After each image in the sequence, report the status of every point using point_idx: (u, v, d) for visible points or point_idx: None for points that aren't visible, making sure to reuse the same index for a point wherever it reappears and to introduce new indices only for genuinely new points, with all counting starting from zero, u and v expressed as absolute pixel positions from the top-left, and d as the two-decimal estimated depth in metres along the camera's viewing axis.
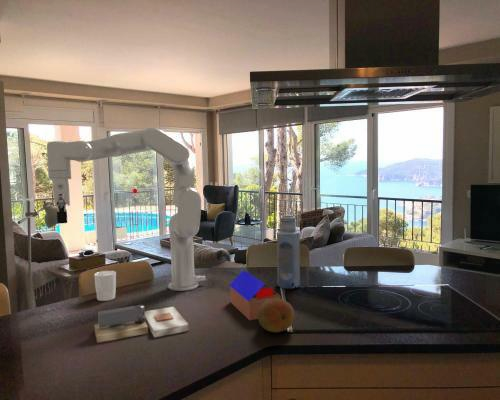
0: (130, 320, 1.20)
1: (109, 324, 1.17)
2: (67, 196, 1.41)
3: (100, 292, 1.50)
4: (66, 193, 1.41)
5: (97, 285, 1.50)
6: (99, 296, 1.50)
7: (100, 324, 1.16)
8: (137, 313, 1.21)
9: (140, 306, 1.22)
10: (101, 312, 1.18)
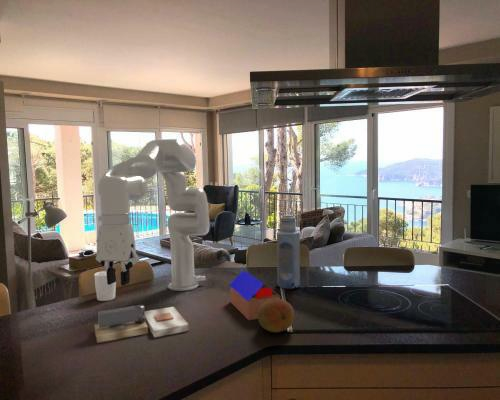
0: (130, 320, 1.20)
1: (109, 324, 1.17)
2: None
3: (100, 292, 1.50)
4: None
5: (97, 285, 1.50)
6: (99, 296, 1.50)
7: (100, 324, 1.16)
8: (137, 313, 1.21)
9: (140, 306, 1.22)
10: (101, 312, 1.18)
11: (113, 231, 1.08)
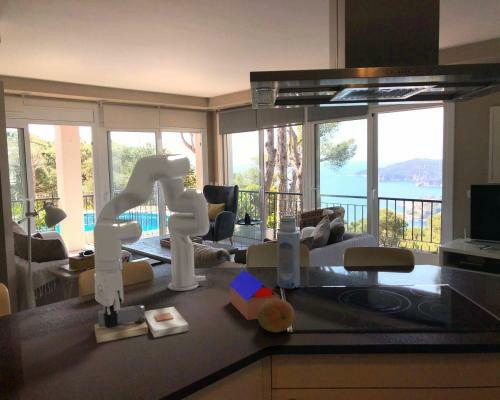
0: (130, 320, 1.20)
1: None
2: None
3: None
4: None
5: None
6: None
7: (100, 323, 1.17)
8: (137, 313, 1.21)
9: (140, 306, 1.22)
10: (101, 311, 1.18)
11: (101, 276, 1.12)
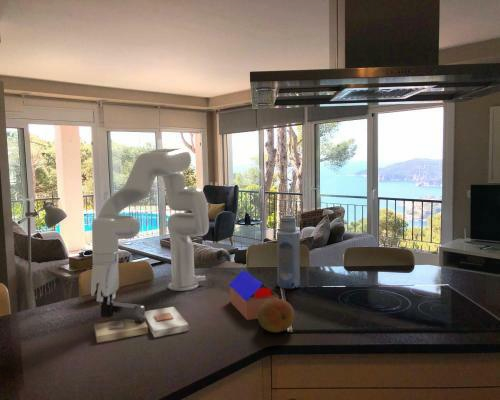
0: (128, 317, 1.22)
1: (112, 316, 1.24)
2: None
3: None
4: None
5: None
6: None
7: None
8: (134, 312, 1.21)
9: (140, 306, 1.22)
10: None
11: None
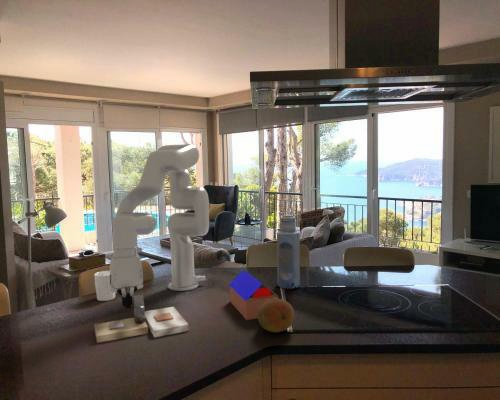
0: None
1: None
2: None
3: (100, 292, 1.50)
4: None
5: (97, 285, 1.50)
6: (99, 296, 1.50)
7: None
8: None
9: (139, 306, 1.22)
10: (139, 295, 1.33)
11: None
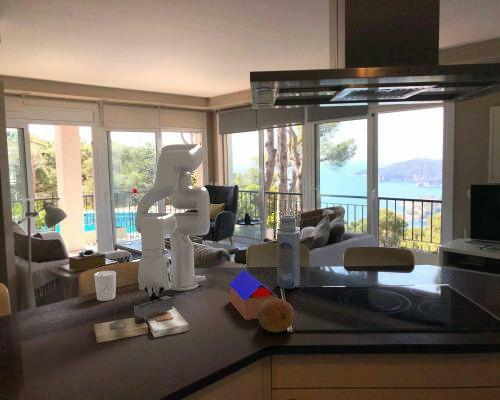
0: None
1: None
2: (170, 273, 1.33)
3: (100, 292, 1.50)
4: None
5: (97, 285, 1.50)
6: (99, 296, 1.50)
7: None
8: None
9: (138, 306, 1.22)
10: (167, 297, 1.31)
11: None
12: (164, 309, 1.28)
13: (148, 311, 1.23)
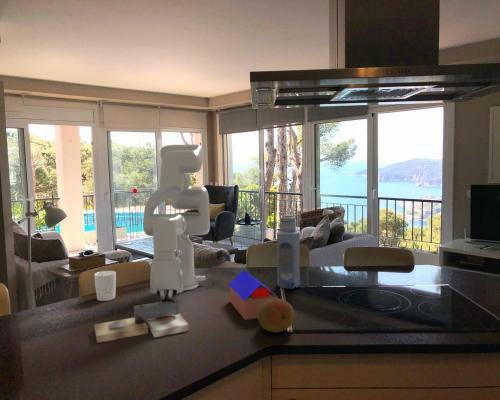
0: None
1: None
2: (182, 275, 1.31)
3: (100, 292, 1.50)
4: None
5: (97, 285, 1.50)
6: (99, 296, 1.50)
7: None
8: None
9: (138, 306, 1.22)
10: (174, 301, 1.26)
11: None
12: (168, 313, 1.24)
13: (147, 312, 1.22)
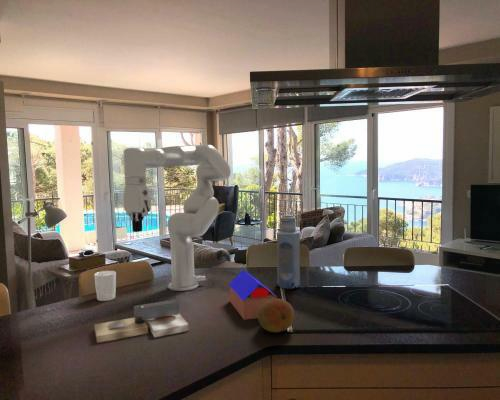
0: None
1: None
2: (150, 202, 1.43)
3: (100, 292, 1.50)
4: (149, 199, 1.43)
5: (97, 285, 1.50)
6: (99, 296, 1.50)
7: None
8: None
9: (138, 306, 1.22)
10: (174, 301, 1.26)
11: None
12: (168, 313, 1.24)
13: (147, 312, 1.22)
